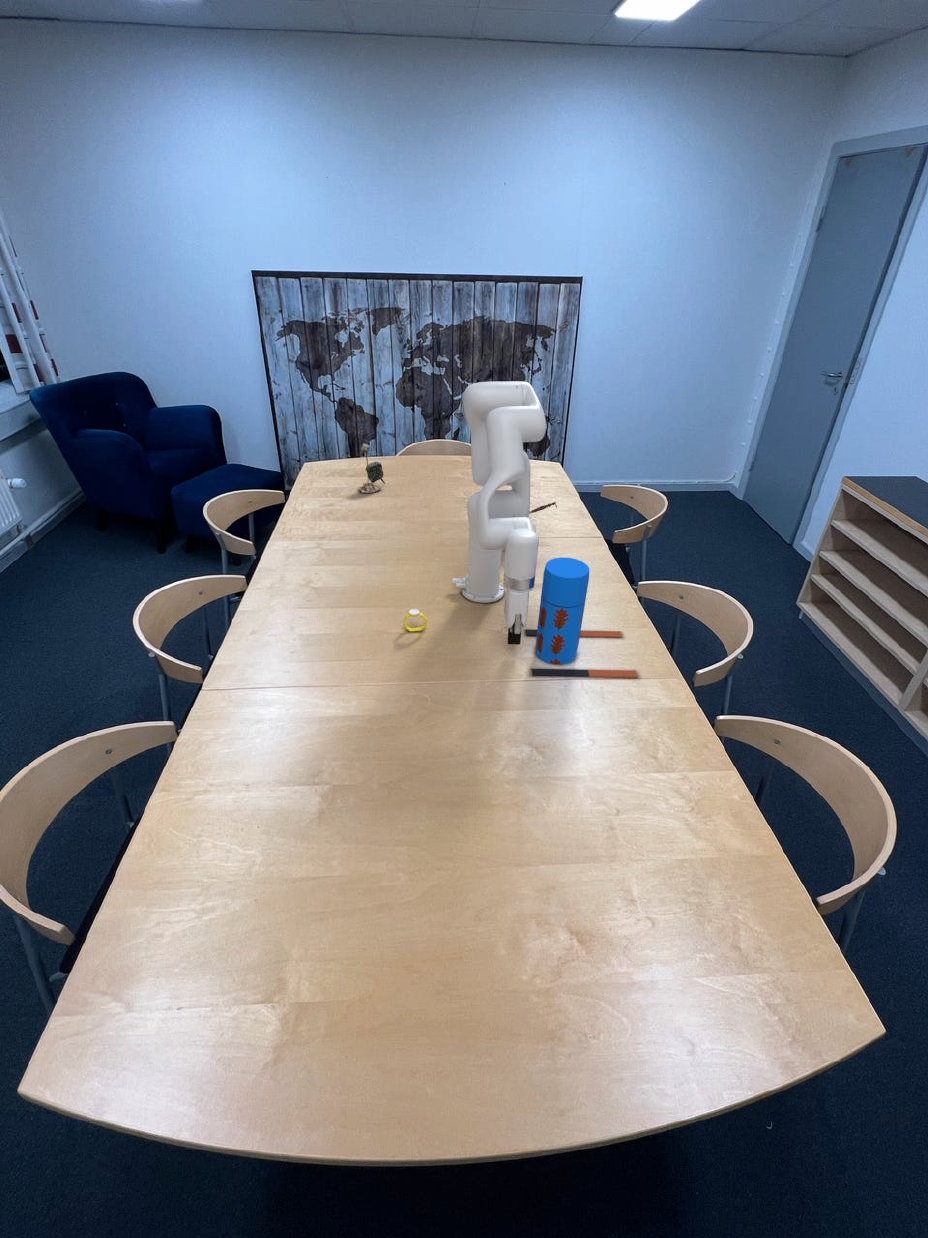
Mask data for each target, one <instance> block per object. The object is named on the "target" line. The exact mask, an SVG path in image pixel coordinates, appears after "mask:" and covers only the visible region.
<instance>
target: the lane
mask: <svg viewBox="0 0 928 1238" xmlns="http://www.w3.org/2000/svg"><path fill="white" fill-rule="evenodd" d="M525 636H526V637H536V636H537V629H526V628H525ZM579 638H610V639H611V638H615V639H617V638H618V639H622V638H623V634H622V632H621V631H615V630H614V631H613V630H581V631H580V637H579ZM531 675H532V677H565V678H567V677H568V678H611V679H612V678H614V679H615V678H616V679H638V678H639V676H638V673H637V671H636V670H621V669H619V670H618V669H617V670H616V669H571V668H570V669H569V668H568V669H566V668H563V669H562V668H531Z"/></svg>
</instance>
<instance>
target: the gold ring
mask: <svg viewBox="0 0 928 1238" xmlns="http://www.w3.org/2000/svg"><path fill="white" fill-rule="evenodd" d="M418 616H419V617H421V618H422V619H423V620H424V621H423V624H422V625H421V626H418V627H410V626H408V624H407V623H406V622H407V619H408V618H409V617H412V618H413V617H418ZM403 626H404V628H405V630H407V631H408V632H422V631H423V630H424V629H425V628H426V626H427V617H426V615H424V613H423V612H420V610H419V609H416V608H413V609H410V610H409V611H408V613H406V614H405V615H404V616H403Z"/></svg>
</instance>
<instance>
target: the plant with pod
mask: <svg viewBox="0 0 928 1238" xmlns="http://www.w3.org/2000/svg"><path fill="white" fill-rule="evenodd" d="M370 448H371V446H370V444H367V443H362V445H361V447H360V452H359V454H360V455H361V454H362V453H364V454H365V458H366V467H365V472H366V476H367V479H368V481H370V482H363V486H360V487H358V489H359V493H363V494H367V493H371V494H372V493H375V492H378V491H380V488H379V487H378V486H377V485H374V483H376V482H377V481H381V482H382V484H384V485H386V482H385V480H384V479H383V478H384V471H383V466H382V462H380V461H377V460H376V461H374V462H373V461H372V462H370V463H369V460H368V459H369V458H368V453H369V452H370Z"/></svg>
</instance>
